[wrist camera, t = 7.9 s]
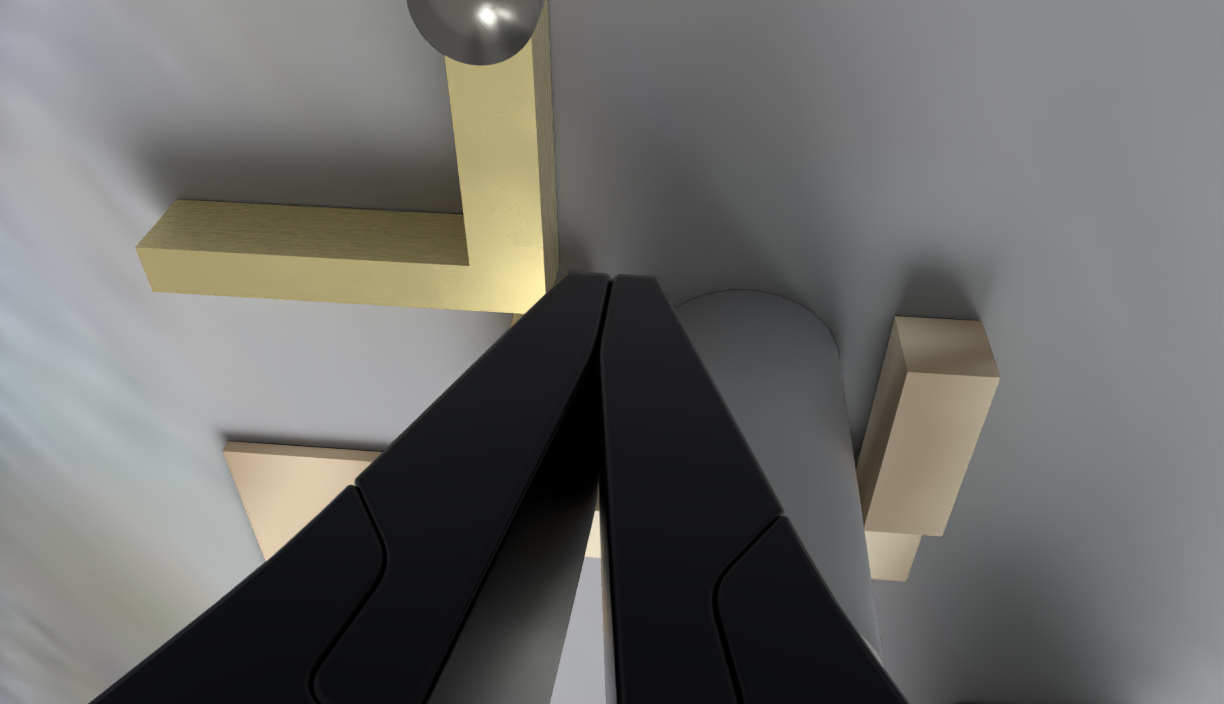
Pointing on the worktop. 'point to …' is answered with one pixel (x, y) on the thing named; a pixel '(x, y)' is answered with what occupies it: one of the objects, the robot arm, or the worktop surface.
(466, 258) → the yellow l-shaped bracket
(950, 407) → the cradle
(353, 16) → the worktop surface
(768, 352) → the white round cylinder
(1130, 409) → the worktop surface
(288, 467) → the wooden panel
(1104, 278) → the worktop surface
